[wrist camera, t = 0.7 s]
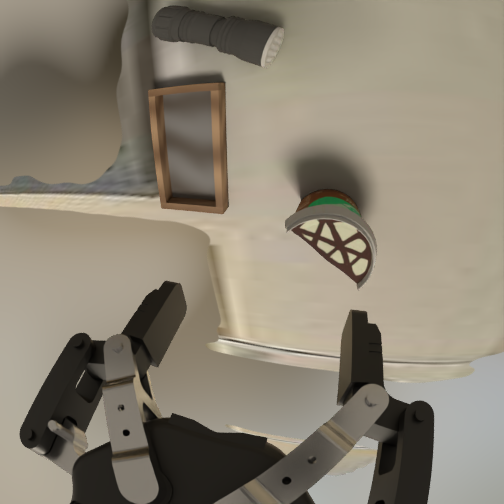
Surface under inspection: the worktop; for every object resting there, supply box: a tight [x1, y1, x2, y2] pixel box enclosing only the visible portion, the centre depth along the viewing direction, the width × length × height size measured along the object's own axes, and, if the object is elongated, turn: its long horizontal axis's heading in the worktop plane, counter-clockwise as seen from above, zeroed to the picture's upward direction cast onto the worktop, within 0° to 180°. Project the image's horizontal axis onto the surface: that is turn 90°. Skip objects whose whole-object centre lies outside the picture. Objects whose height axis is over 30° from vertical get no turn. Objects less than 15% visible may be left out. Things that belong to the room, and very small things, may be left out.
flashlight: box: [152, 6, 284, 68], centre depth 24 cm, size 15×5×5 cm, turn 69°
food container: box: [285, 189, 377, 290], centre depth 32 cm, size 12×6×10 cm, turn 55°
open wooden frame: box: [148, 83, 229, 214], centre depth 35 cm, size 18×10×2 cm, turn 0°
